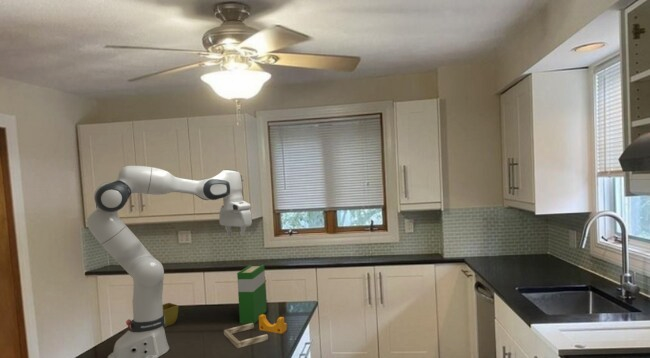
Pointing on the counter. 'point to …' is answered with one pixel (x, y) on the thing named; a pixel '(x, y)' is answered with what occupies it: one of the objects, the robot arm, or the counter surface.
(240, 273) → the hardback book
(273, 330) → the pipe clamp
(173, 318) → the flower pot
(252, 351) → the counter surface
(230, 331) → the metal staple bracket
